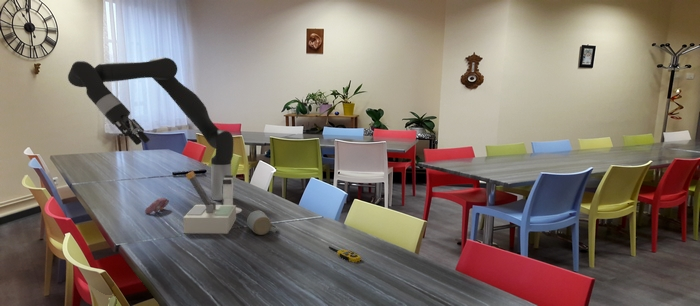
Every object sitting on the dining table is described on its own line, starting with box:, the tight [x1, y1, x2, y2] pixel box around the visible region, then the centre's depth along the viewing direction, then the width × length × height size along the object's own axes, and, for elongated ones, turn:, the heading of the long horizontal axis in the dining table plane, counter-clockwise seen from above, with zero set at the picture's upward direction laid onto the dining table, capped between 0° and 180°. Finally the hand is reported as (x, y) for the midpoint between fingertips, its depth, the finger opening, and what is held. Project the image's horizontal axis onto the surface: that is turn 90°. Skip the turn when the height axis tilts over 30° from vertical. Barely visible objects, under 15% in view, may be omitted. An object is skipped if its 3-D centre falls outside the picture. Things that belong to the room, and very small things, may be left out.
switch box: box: [182, 200, 237, 234], centre depth 169 cm, size 16×18×9 cm
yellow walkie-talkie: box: [328, 245, 362, 263], centre depth 145 cm, size 5×2×15 cm
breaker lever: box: [185, 170, 214, 208], centre depth 168 cm, size 2×4×17 cm, turn 5°
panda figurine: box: [221, 174, 242, 215], centre depth 190 cm, size 12×11×15 cm
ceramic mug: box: [246, 210, 278, 236], centre depth 164 cm, size 11×8×8 cm
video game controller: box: [144, 197, 170, 215], centre depth 186 cm, size 10×5×7 cm, turn 169°
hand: (143, 142), depth 164 cm, fingers open, 8 cm apart
